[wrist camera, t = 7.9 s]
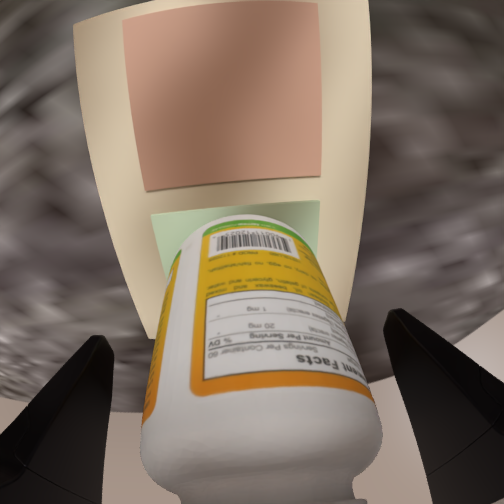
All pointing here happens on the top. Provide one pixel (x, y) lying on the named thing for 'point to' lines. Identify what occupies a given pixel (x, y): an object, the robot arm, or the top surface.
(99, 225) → the top surface
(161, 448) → the supplement bottle
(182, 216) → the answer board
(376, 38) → the top surface
